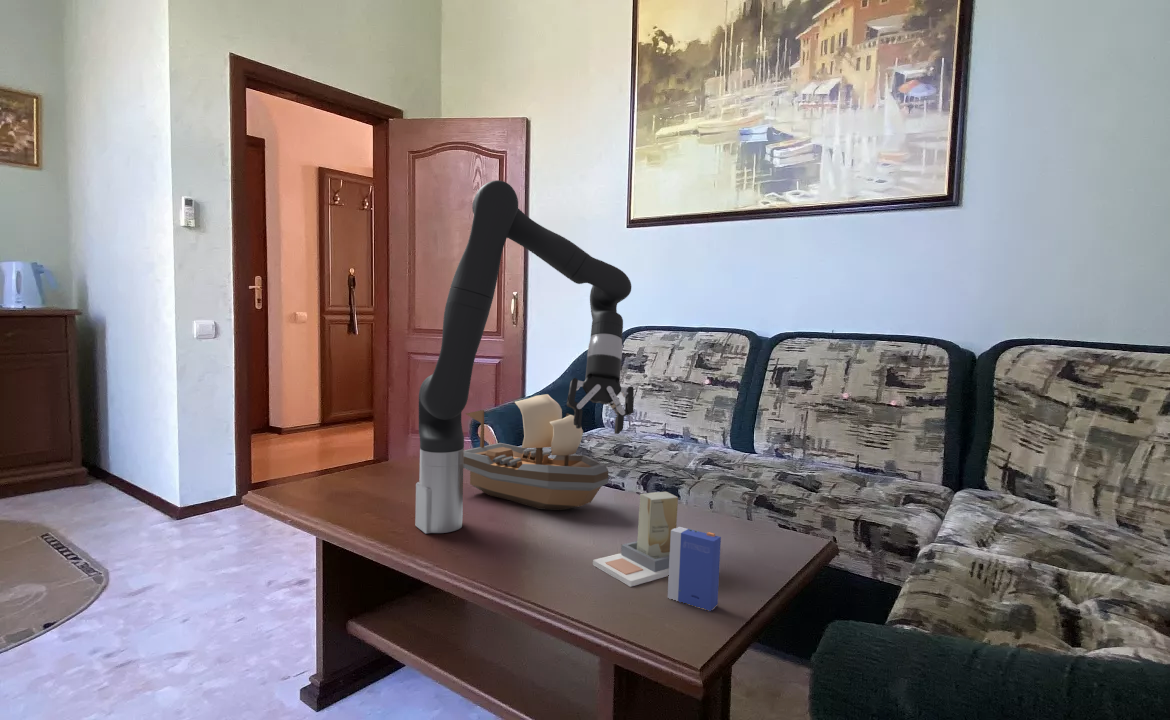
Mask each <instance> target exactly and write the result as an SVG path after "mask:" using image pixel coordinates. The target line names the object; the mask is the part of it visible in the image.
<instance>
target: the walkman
mask: <svg viewBox="0 0 1170 720" xmlns="http://www.w3.org/2000/svg"><path fill="white" fill-rule="evenodd" d="M721 539H722V537H721V536H718V535H716V533H713V532H709V531H708V532H702V531H699V530H694V529H690V528H686V527H682V526H678V527H677V526H676V529H675V528H674V529H672V530H671V537H670V554H669V576H667V577H668V580H667V599H668V598H669V599H668V600H671V599H673V600H672V601H674V600H676V601H675V602H677V601H679V603H681V602H683V603H682V604H684V603H687V604H690V605H693V606H696V607H700V608H704V609H706V610H709V611H711V610H712V609H713V608H714V607H715V606H716V605H717V604H718V602H719V580H720V565H721V564H720V562H721V546H722V545H721V542H722V540H721ZM687 604H686V605H687ZM690 605H689V606H690ZM693 606H692V607H693ZM717 606H718V605H717ZM696 607H695V608H696ZM714 609H715V608H714ZM714 609H713V610H714ZM706 610H705V611H706ZM713 610H712V611H713ZM709 611H708V612H709ZM712 611H711V612H712Z"/></svg>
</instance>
